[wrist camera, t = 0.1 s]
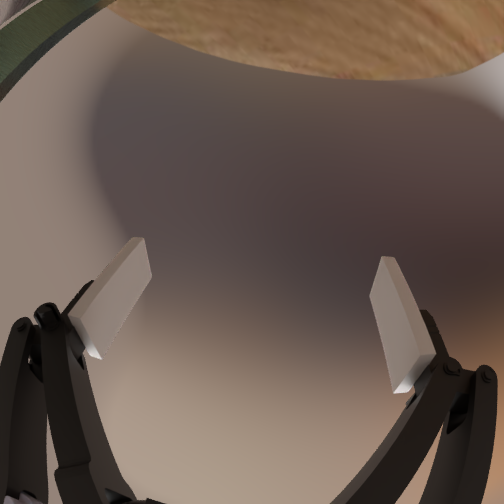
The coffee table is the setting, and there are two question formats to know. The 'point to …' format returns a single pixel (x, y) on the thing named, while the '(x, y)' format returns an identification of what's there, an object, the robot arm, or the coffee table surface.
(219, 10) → the coffee table surface
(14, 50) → the arbor press
